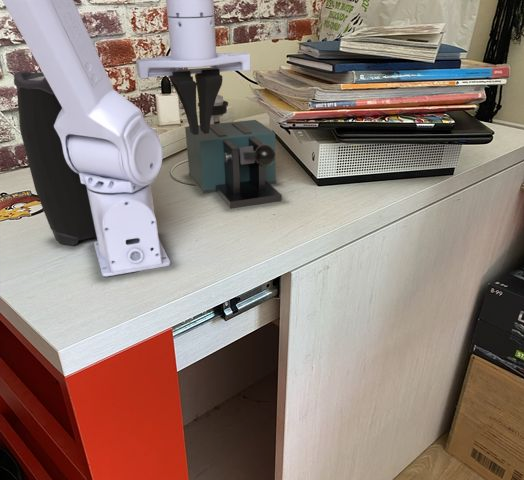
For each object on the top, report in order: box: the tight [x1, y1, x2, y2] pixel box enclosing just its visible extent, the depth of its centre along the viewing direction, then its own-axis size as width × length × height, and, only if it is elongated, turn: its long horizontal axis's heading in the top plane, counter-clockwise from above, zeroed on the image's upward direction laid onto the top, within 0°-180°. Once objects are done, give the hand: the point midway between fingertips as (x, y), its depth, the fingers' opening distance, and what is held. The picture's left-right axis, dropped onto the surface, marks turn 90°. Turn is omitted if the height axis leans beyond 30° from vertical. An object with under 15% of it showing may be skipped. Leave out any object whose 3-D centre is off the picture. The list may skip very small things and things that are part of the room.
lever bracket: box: [215, 137, 282, 210], centre depth 81 cm, size 10×8×8 cm
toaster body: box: [184, 119, 277, 195], centre depth 86 cm, size 9×12×8 cm
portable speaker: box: [13, 70, 97, 247], centre depth 66 cm, size 9×9×20 cm
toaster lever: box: [238, 144, 276, 167], centre depth 76 cm, size 12×3×3 cm, turn 20°
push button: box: [197, 94, 229, 124], centre depth 97 cm, size 7×5×10 cm
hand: (199, 132), depth 74 cm, fingers closed
